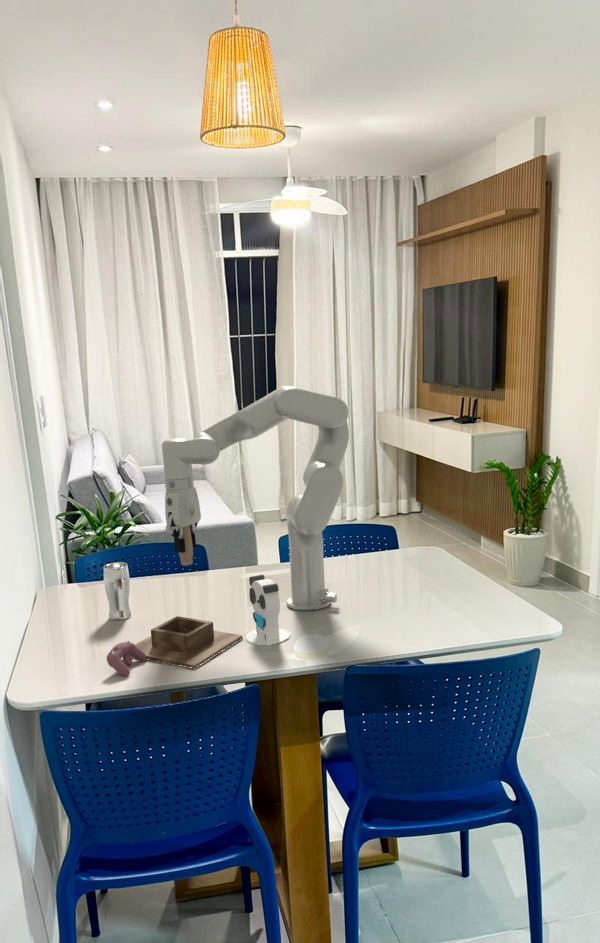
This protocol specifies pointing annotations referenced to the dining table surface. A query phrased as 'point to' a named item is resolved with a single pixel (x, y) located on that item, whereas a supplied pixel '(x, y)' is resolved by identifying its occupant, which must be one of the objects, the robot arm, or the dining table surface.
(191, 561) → the handle
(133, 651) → the video game controller
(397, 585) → the dining table surface
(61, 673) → the dining table surface
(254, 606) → the panda figurine
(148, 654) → the holder
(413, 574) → the dining table surface
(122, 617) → the beer glass
